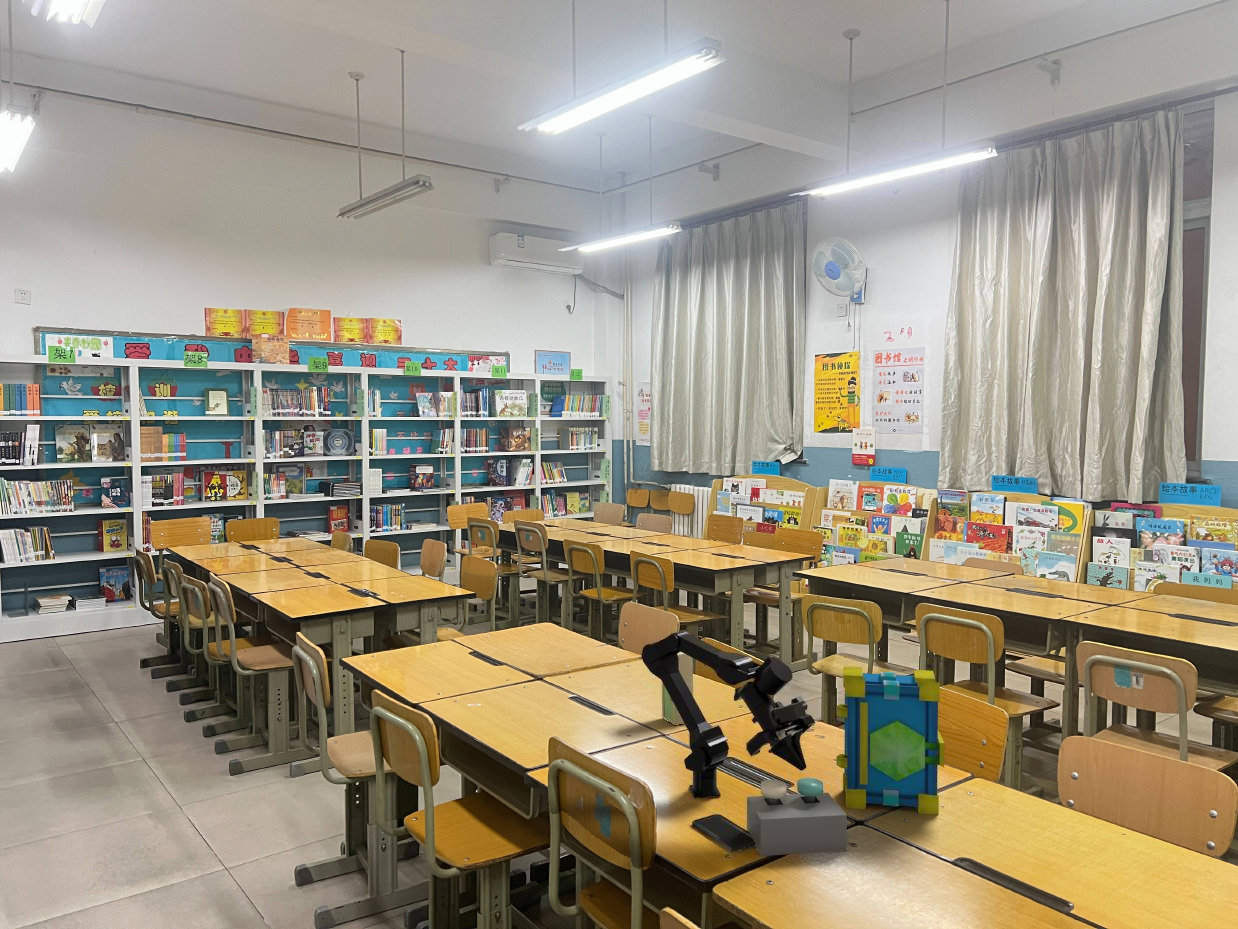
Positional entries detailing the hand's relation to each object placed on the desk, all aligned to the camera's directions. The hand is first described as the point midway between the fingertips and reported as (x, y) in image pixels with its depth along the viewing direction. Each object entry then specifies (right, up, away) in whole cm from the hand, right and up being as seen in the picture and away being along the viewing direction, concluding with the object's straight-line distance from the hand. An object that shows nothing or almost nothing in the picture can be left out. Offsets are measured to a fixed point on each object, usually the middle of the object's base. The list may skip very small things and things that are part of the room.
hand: (804, 769), depth 185 cm
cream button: (-7, -7, -2) cm, 10 cm away
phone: (-17, -14, 0) cm, 22 cm away
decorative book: (+23, -13, +15) cm, 30 cm away
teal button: (+1, -7, -1) cm, 7 cm away
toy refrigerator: (-23, -11, +72) cm, 76 cm away
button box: (-3, -14, -4) cm, 14 cm away
